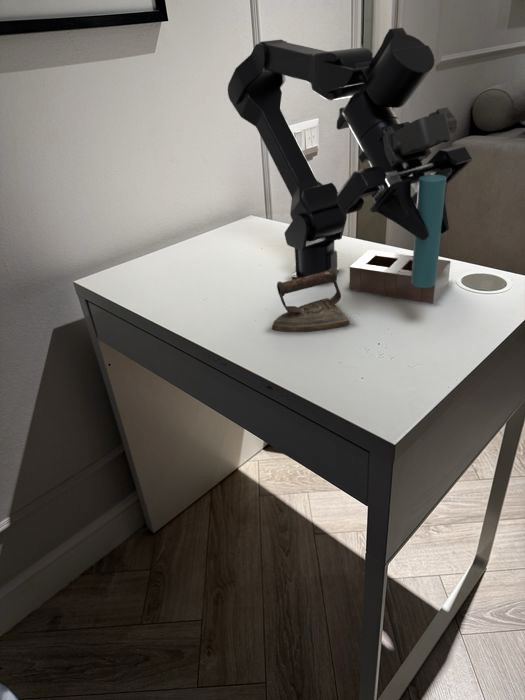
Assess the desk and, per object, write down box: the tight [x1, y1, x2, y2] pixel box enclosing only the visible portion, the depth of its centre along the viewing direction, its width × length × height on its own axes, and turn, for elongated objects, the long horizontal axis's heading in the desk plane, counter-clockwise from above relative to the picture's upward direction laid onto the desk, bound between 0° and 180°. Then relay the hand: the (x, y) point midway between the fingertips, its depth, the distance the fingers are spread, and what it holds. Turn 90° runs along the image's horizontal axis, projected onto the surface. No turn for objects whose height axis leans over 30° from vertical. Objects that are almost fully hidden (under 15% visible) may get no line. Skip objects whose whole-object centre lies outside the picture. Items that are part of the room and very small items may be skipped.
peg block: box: [349, 249, 452, 304], centre depth 85 cm, size 14×8×4 cm, turn 57°
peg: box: [411, 175, 447, 288], centre depth 67 cm, size 3×3×14 cm
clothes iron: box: [271, 268, 351, 333], centre depth 76 cm, size 7×11×10 cm, turn 107°
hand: (435, 235), depth 66 cm, fingers closed on peg, 3 cm apart
